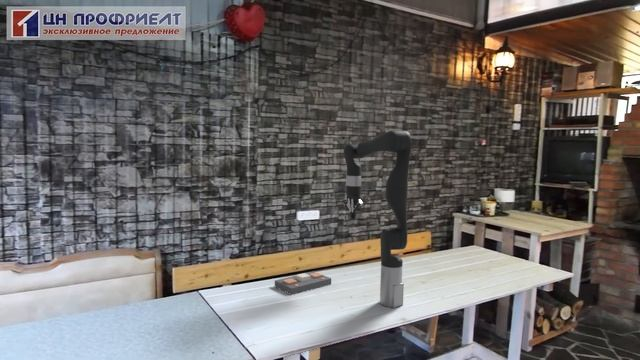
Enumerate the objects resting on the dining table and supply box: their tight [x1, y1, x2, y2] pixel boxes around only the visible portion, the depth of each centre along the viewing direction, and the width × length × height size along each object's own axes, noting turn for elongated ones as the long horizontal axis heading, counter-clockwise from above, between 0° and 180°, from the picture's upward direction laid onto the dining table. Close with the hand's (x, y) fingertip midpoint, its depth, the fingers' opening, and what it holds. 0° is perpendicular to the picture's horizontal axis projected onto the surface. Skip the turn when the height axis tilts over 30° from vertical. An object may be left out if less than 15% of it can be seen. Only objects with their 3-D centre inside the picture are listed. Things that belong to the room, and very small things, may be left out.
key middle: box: [295, 272, 311, 282], centre depth 201 cm, size 5×5×3 cm
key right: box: [309, 271, 324, 279], centre depth 206 cm, size 5×5×3 cm
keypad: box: [274, 271, 332, 296], centre depth 201 cm, size 14×24×3 cm, turn 129°
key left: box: [283, 278, 297, 285], centre depth 196 cm, size 5×5×3 cm
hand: (352, 219), depth 204 cm, fingers closed
